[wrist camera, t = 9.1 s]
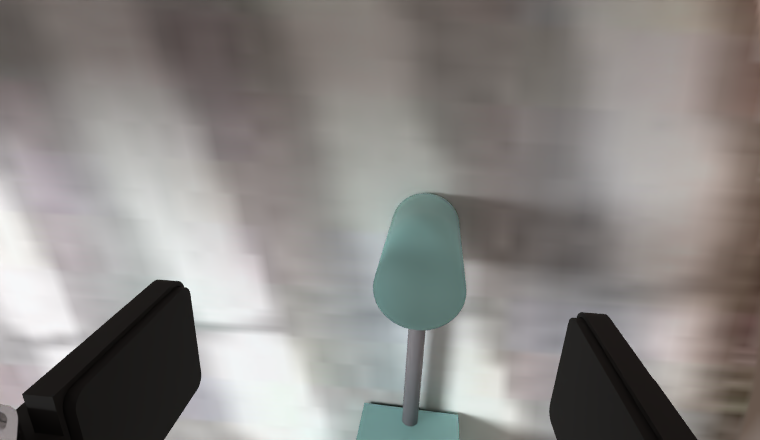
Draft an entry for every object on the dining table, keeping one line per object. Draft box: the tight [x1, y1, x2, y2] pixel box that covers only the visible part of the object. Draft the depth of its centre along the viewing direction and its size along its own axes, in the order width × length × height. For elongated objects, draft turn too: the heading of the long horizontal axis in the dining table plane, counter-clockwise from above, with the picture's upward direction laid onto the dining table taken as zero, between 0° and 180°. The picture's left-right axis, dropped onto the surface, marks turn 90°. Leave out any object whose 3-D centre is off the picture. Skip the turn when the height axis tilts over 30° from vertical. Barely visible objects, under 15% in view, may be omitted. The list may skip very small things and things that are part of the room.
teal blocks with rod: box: [356, 193, 466, 440], centre depth 19 cm, size 17×5×6 cm, turn 178°
